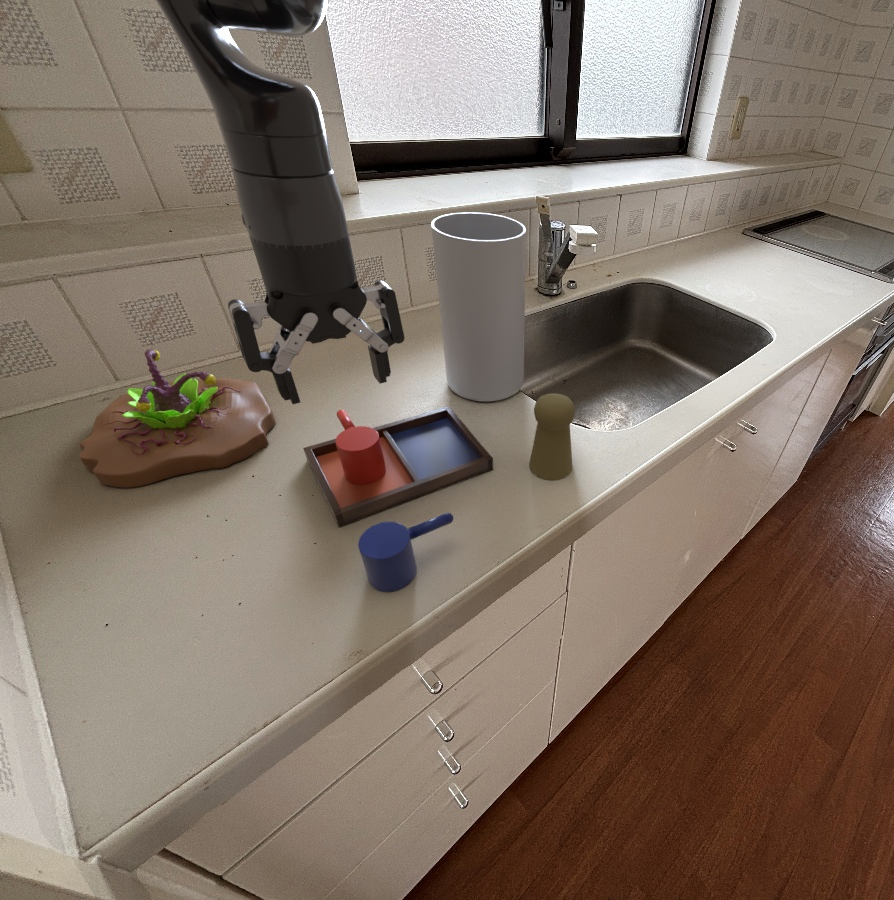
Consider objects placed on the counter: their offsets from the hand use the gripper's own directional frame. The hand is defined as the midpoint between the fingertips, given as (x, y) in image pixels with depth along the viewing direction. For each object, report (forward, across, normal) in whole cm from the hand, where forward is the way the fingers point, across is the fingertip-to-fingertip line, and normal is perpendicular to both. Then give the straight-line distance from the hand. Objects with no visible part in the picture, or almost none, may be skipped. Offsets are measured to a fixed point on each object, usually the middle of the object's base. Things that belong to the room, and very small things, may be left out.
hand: (339, 389), depth 52 cm
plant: (+15, -15, +23) cm, 31 cm away
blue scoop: (+15, +1, -14) cm, 20 cm away
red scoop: (+14, +1, +5) cm, 15 cm away
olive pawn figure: (+15, +22, -8) cm, 28 cm away
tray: (+15, +6, +2) cm, 16 cm away
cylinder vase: (+14, +25, +15) cm, 32 cm away
